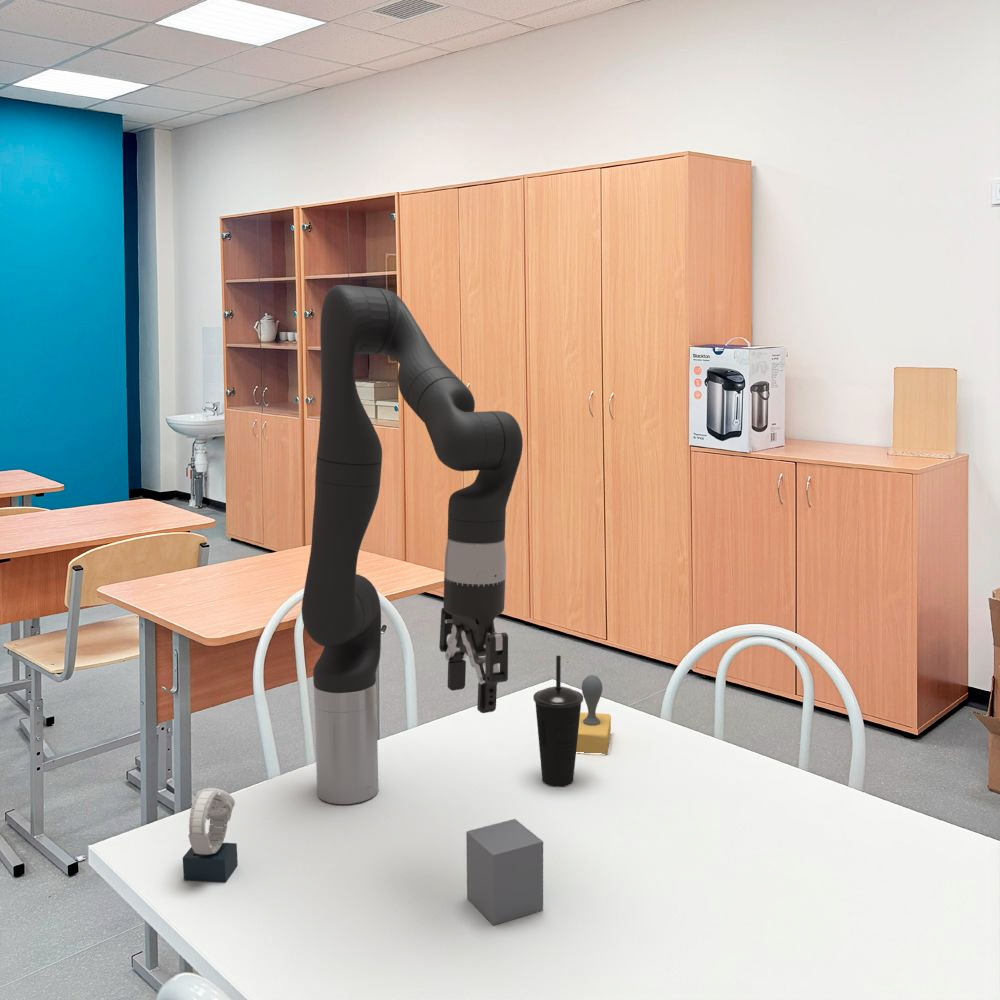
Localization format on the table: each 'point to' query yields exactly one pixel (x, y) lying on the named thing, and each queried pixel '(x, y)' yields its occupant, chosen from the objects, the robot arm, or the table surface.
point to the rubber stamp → (593, 720)
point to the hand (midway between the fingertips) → (470, 699)
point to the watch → (210, 838)
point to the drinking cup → (558, 730)
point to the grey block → (504, 871)
